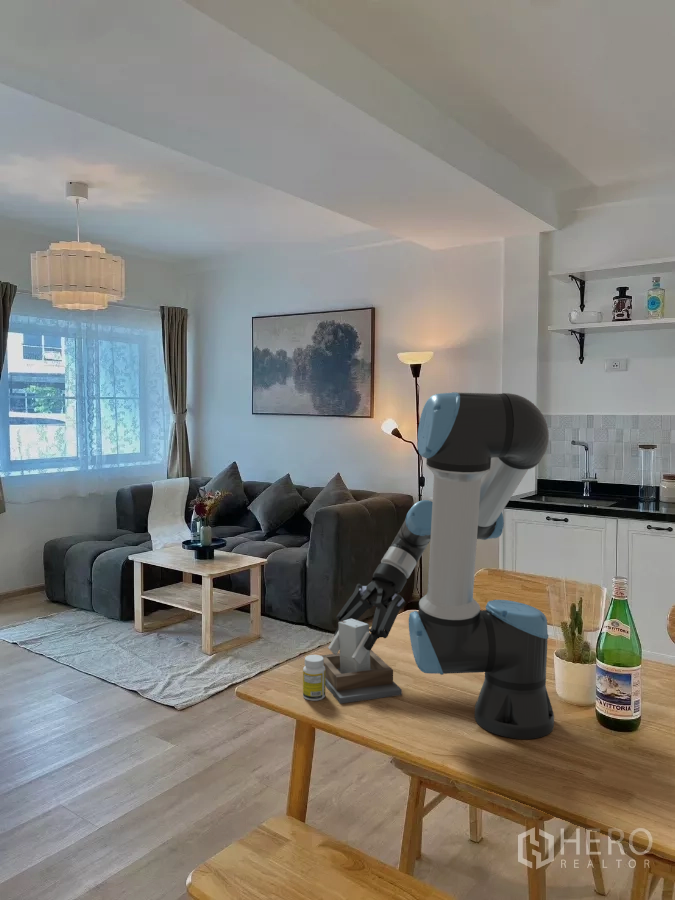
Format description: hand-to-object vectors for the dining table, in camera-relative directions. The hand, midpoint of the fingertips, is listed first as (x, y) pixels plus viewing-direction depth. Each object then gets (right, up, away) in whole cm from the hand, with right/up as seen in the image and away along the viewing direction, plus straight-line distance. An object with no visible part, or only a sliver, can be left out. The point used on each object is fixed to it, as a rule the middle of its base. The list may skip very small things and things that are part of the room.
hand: (343, 655), depth 153 cm
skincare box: (+2, -5, +3) cm, 7 cm away
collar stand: (+2, -7, +3) cm, 8 cm away
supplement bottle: (-6, -7, -5) cm, 11 cm away
